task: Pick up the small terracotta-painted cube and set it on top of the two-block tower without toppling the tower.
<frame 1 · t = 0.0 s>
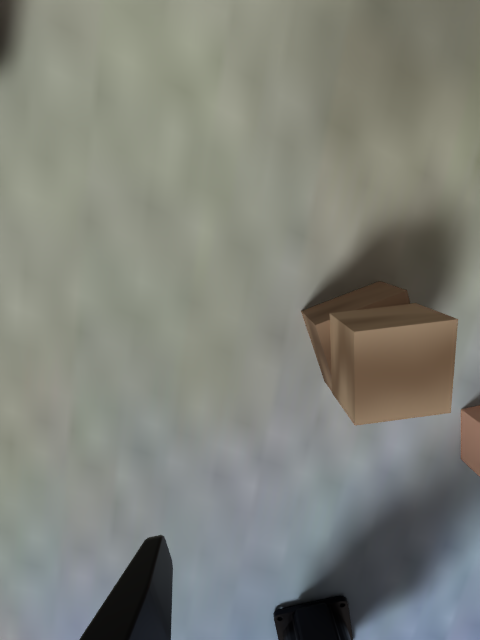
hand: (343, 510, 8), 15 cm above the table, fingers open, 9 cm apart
tower base: (349, 331, 23), on the table, touching tower mid
tower mid: (372, 349, 20), point 3 cm above the table, touching tower base
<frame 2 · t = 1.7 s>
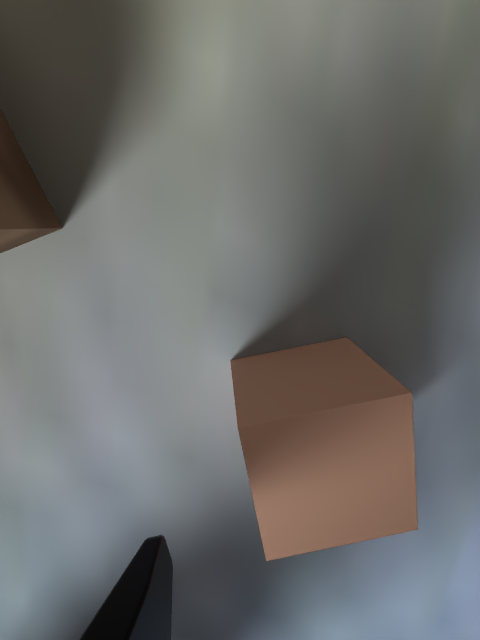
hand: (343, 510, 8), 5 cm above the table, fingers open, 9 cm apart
cube: (296, 399, 13), on the table
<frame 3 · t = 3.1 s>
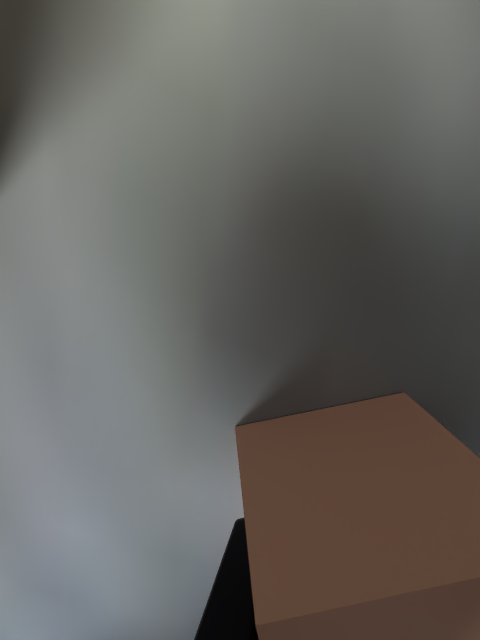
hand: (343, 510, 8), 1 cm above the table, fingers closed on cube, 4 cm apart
cube: (329, 479, 9), on the table, touching gripper
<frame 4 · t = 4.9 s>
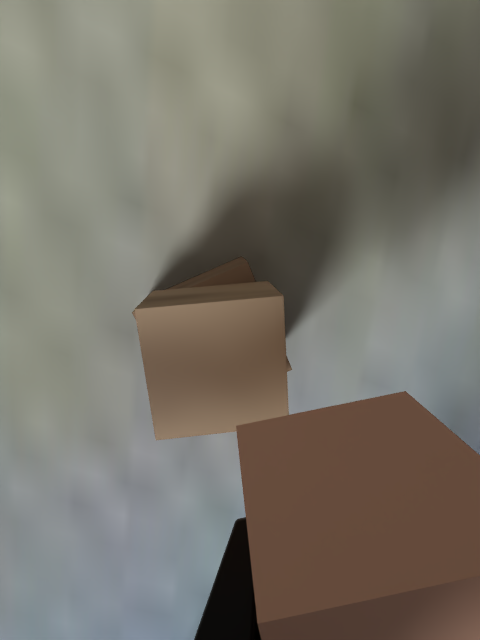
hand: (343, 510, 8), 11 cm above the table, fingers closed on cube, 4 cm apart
tower base: (215, 321, 19), on the table, touching tower mid
tower mid: (216, 340, 15), point 3 cm above the table, touching tower base
cube: (330, 478, 9), point 10 cm above the table, touching gripper
when the fingers open (9 cm above the table, at t = 6.3 s): cube moves 1 cm, resting on tower mid.
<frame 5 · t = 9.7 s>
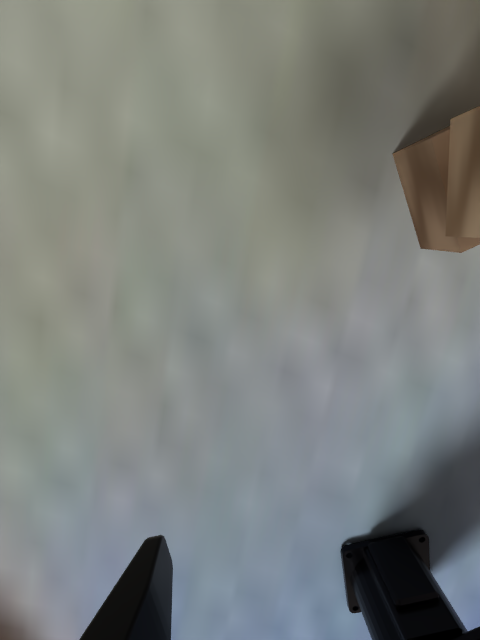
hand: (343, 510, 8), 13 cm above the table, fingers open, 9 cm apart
tower base: (451, 181, 19), on the table, touching tower mid
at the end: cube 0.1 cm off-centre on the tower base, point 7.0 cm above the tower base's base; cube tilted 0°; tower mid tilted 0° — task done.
